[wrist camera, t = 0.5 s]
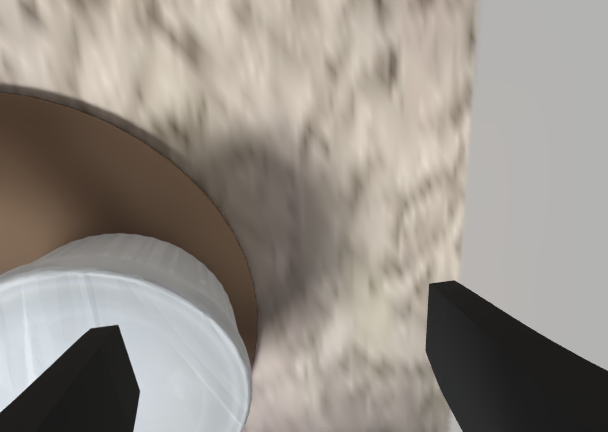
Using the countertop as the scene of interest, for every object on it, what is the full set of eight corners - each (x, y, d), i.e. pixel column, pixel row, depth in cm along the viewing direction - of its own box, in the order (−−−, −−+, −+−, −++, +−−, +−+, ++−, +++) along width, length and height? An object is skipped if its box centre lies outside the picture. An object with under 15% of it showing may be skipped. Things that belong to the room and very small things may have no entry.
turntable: (125, 535, 26) (114, 578, 24) (-324, 397, 20) (-395, 440, 17) (344, 266, 22) (355, 291, 19) (-154, -44, 15) (-224, -60, 12)
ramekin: (-55, 277, 19) (-159, 358, 14) (173, 166, 18) (148, 209, 13) (98, 439, 23) (59, 544, 18) (286, 352, 23) (298, 437, 18)
